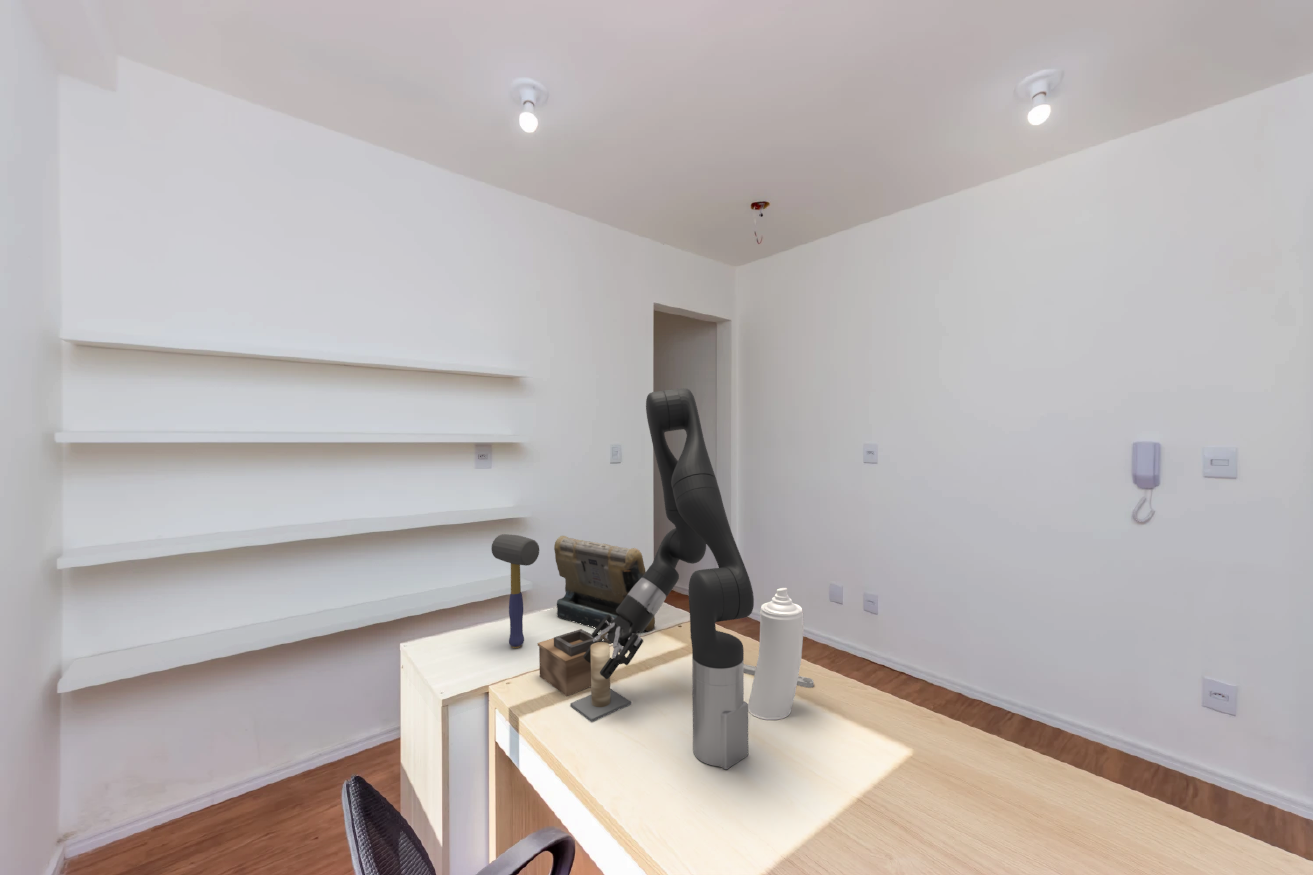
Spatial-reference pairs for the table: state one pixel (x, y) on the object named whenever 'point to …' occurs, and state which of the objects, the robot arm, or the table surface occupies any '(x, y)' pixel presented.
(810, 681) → the adjustable wrench
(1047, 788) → the table surface
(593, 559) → the tablet
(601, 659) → the wooden cylinder
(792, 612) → the spray can
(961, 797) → the table surface
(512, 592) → the rubber mallet
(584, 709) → the rubber mat
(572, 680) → the wooden box
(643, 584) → the robot arm
